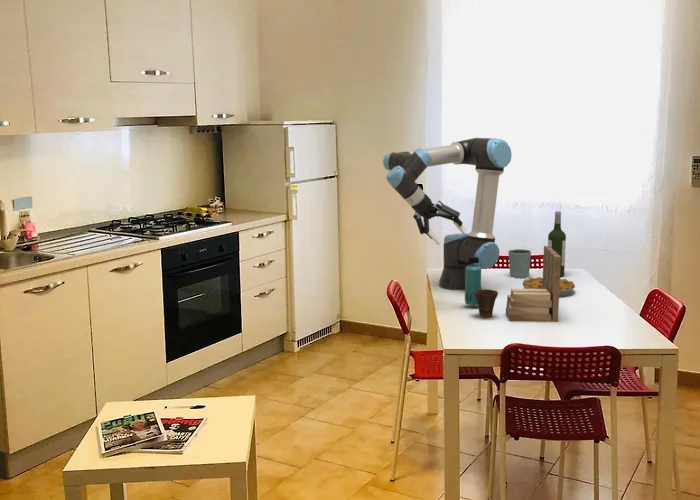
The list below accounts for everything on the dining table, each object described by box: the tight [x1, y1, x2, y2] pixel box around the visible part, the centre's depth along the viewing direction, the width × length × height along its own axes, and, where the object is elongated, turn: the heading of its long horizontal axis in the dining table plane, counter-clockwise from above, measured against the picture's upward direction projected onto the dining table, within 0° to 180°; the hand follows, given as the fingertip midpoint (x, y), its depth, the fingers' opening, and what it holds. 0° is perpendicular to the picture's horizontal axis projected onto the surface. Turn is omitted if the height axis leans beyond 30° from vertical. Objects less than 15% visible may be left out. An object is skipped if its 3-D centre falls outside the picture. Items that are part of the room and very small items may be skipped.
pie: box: [521, 276, 576, 298], centre depth 316 cm, size 22×22×5 cm
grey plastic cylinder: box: [508, 248, 532, 279], centre depth 345 cm, size 10×10×12 cm
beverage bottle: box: [464, 257, 483, 306], centre depth 291 cm, size 6×7×20 cm
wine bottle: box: [547, 210, 567, 278], centre depth 344 cm, size 8×8×30 cm
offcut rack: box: [505, 245, 561, 322], centre depth 281 cm, size 22×18×24 cm
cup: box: [474, 288, 499, 318], centre depth 279 cm, size 9×9×10 cm
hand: (452, 237), depth 296 cm, fingers open, 13 cm apart
